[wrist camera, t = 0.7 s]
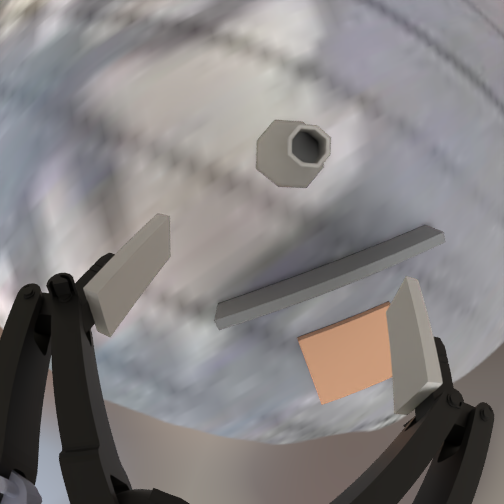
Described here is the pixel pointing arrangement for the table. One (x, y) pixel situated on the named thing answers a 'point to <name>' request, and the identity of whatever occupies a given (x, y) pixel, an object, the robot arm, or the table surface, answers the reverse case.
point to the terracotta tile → (349, 354)
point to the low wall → (327, 277)
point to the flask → (292, 153)
